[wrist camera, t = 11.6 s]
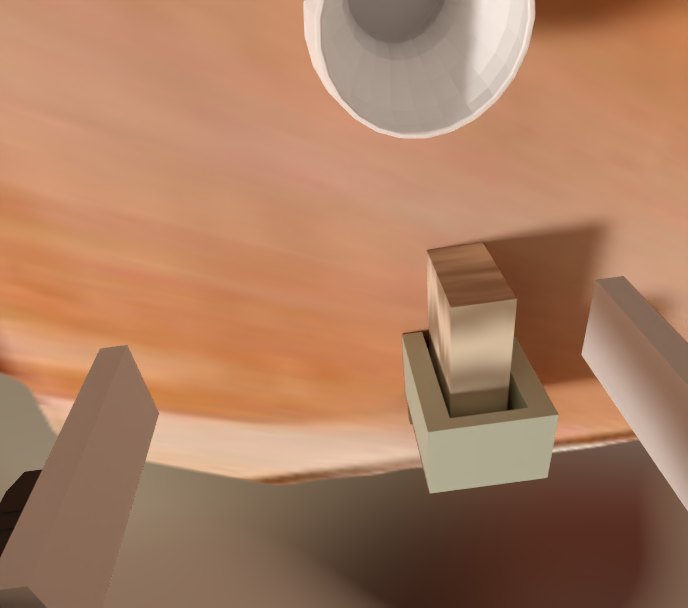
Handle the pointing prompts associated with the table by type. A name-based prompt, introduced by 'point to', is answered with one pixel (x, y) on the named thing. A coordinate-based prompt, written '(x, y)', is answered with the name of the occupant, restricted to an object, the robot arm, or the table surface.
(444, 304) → the peg
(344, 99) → the cup
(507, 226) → the table surface
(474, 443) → the block
